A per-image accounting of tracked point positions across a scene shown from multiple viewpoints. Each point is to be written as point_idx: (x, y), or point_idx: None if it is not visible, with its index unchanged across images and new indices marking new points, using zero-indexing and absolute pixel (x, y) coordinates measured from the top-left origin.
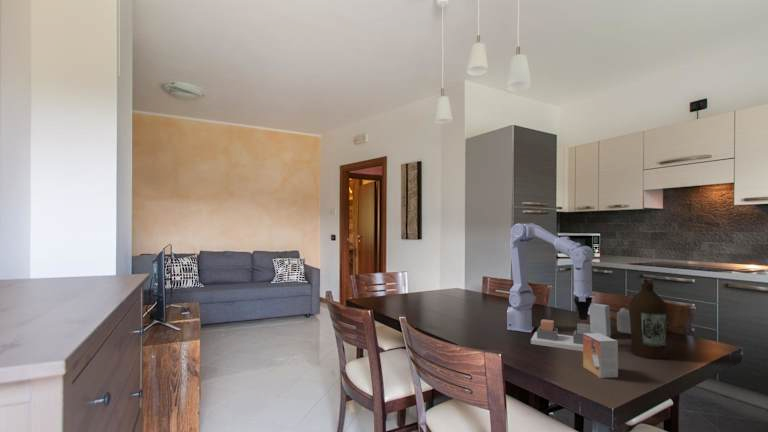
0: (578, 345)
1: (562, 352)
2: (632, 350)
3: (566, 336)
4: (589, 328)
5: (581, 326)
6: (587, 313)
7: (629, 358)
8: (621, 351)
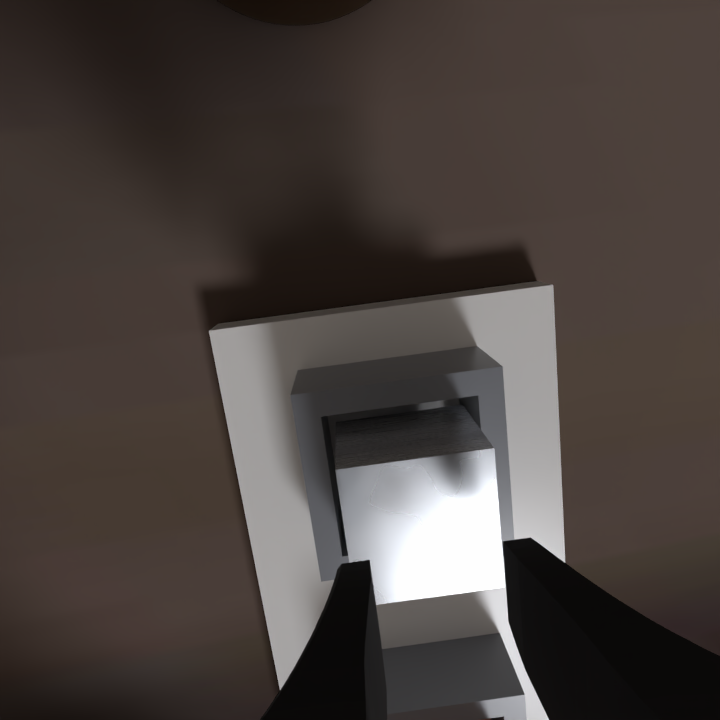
0: (536, 461)
1: (655, 529)
2: (340, 11)
3: (304, 598)
4: (490, 446)
5: (498, 539)
6: (607, 595)
7: (537, 37)
8: (352, 123)
